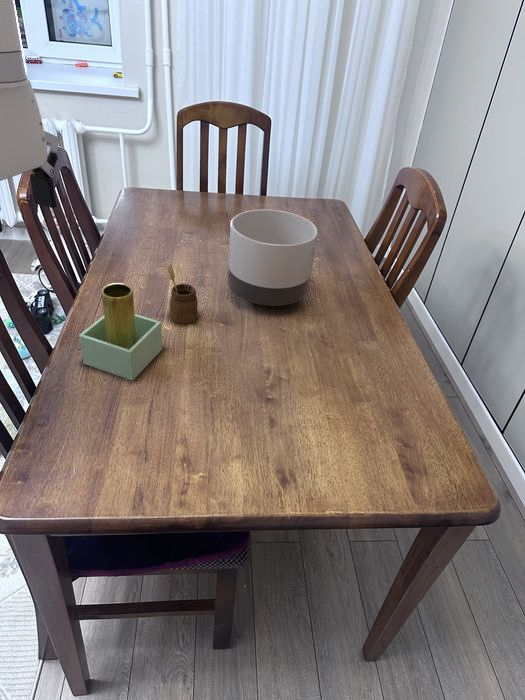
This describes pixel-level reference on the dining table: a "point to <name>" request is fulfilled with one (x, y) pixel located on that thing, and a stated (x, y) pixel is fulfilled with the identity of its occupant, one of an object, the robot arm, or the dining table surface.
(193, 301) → the utensil holder
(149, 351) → the bin
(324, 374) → the dining table surface
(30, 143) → the robot arm
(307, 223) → the planter
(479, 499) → the dining table surface
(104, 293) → the vase
